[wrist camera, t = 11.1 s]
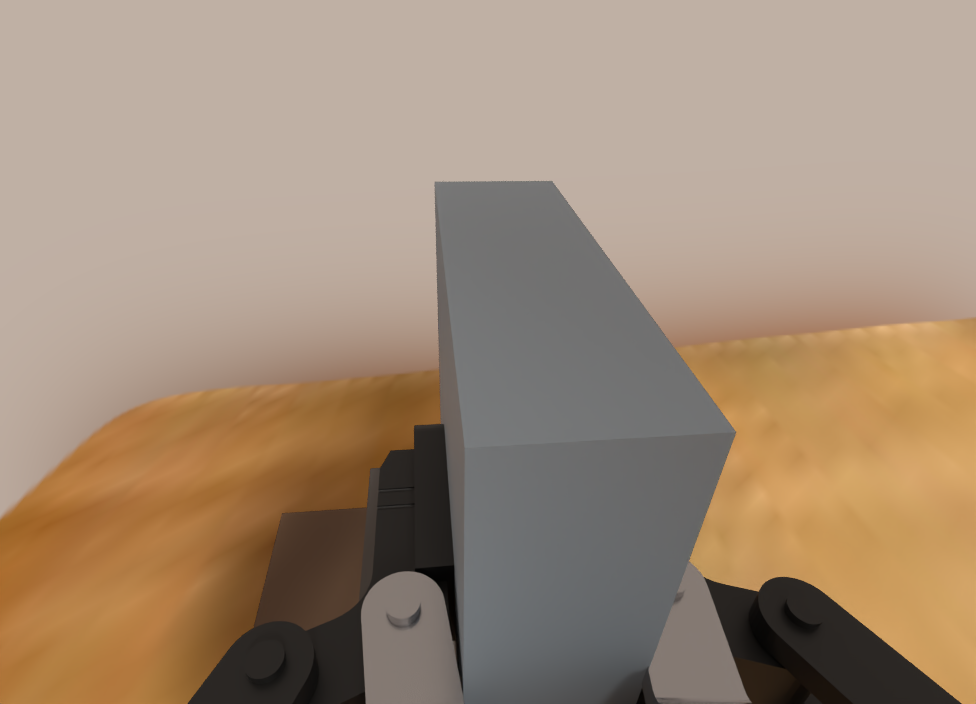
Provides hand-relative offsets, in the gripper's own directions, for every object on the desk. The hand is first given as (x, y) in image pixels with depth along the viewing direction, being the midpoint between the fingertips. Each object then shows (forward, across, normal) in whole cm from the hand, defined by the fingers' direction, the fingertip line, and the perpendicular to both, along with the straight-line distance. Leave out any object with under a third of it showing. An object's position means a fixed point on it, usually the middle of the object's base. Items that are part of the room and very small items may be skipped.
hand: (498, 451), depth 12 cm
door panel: (-2, 0, +7) cm, 7 cm away
